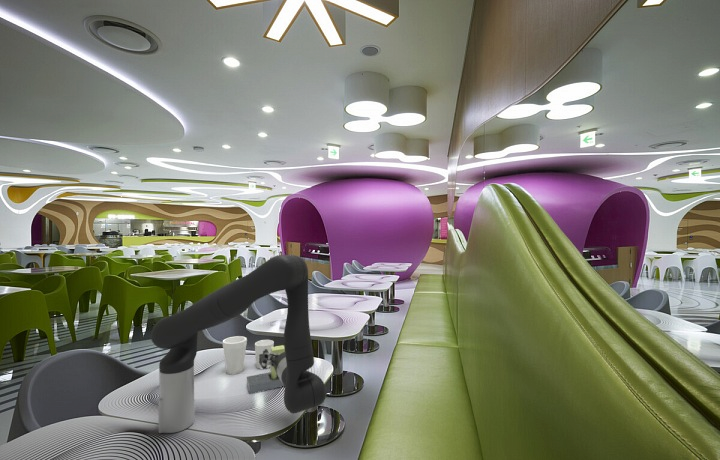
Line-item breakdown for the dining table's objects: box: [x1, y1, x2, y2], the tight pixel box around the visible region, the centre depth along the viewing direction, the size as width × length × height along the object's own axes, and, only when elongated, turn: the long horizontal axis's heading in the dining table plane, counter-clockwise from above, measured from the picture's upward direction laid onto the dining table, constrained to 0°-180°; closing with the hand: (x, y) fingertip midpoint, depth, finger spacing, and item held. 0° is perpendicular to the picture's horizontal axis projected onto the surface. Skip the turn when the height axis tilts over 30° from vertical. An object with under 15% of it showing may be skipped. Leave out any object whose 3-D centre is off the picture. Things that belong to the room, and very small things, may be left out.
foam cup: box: [222, 335, 248, 375], centre depth 138 cm, size 10×9×13 cm
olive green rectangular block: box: [270, 344, 285, 379], centre depth 127 cm, size 5×4×13 cm
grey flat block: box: [246, 371, 284, 395], centre depth 127 cm, size 22×8×3 cm, turn 115°
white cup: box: [254, 339, 275, 369], centre depth 144 cm, size 8×8×10 cm
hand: (278, 350), depth 114 cm, fingers open, 8 cm apart
